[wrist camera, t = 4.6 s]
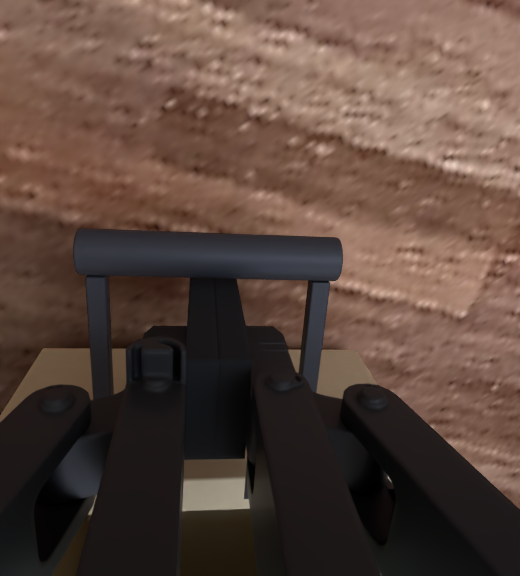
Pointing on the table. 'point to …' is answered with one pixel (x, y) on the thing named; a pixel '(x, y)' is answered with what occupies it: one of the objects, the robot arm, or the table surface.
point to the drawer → (112, 364)
